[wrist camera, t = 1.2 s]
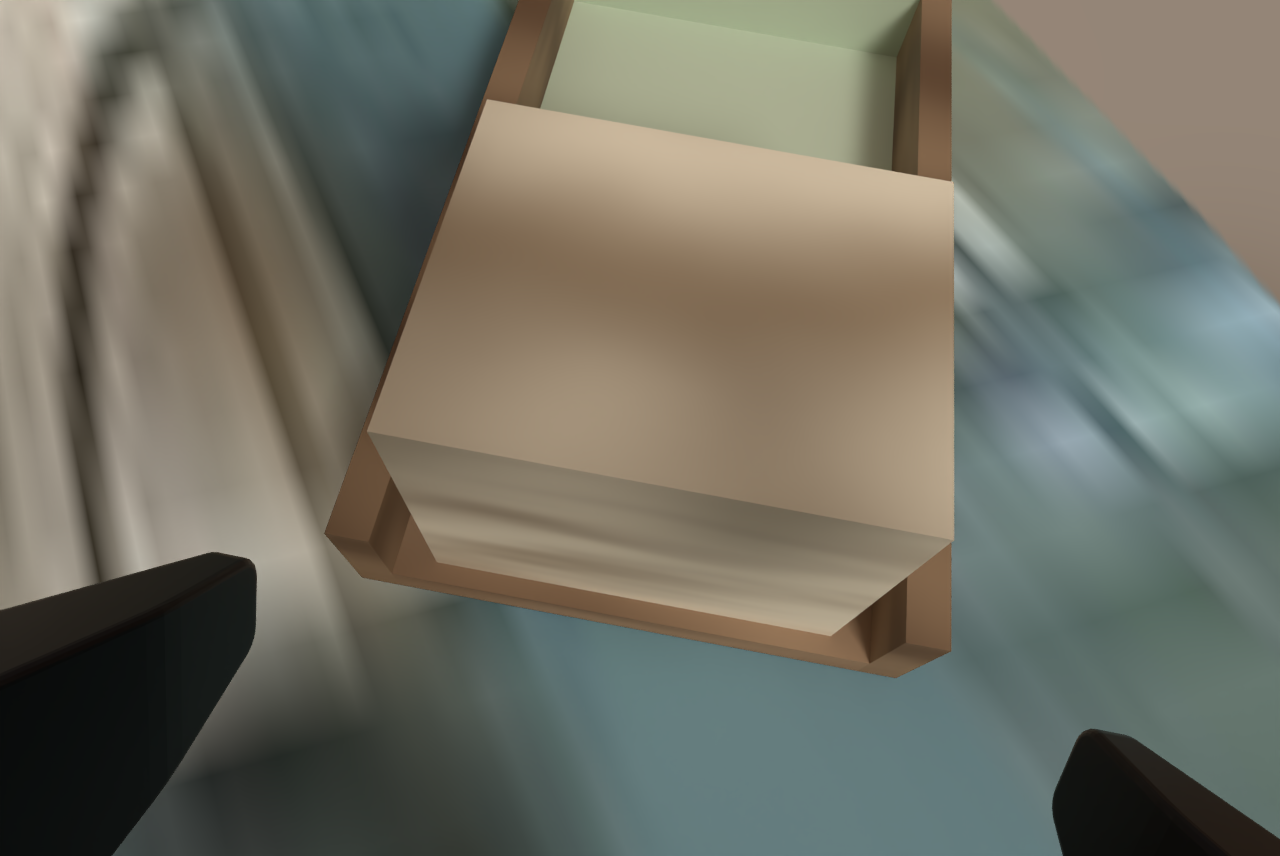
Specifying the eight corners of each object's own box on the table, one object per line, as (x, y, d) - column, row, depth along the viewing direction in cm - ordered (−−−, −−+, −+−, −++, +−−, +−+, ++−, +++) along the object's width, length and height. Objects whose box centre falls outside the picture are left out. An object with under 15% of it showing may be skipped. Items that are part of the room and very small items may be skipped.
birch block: (830, 636, 20) (954, 539, 14) (436, 562, 20) (367, 430, 14) (848, 364, 24) (953, 181, 17) (513, 303, 24) (487, 98, 17)
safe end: (908, 262, 27) (951, 187, 24) (492, 188, 27) (481, 104, 24) (914, 66, 31) (951, -20, 28) (554, 3, 31) (551, -89, 28)
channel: (895, 677, 21) (951, 651, 18) (362, 577, 21) (324, 533, 18) (914, 66, 31) (951, -20, 28) (554, 3, 31) (551, -89, 28)
